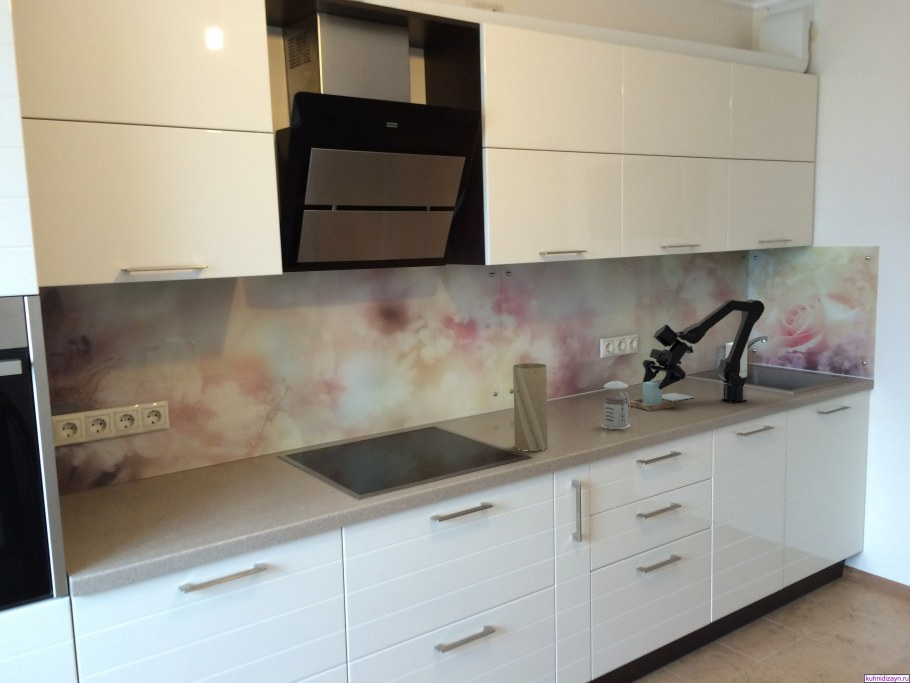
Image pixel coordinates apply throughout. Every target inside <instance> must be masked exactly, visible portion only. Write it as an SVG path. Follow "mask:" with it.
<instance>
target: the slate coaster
mask: <svg viewBox="0 0 910 683" xmlns="http://www.w3.org/2000/svg"><path fill="white" fill-rule="evenodd" d="M690 398H694V399H695V396H691V395H685V394H681V393H677V392H672V393H671V392H669V393H664V394H663V393H662V399H665V400H664V401H666V400H670V401H676V402H679V401H678V400H683V401H685V400H684V399H689V400H691V399H690ZM670 401H669V402H670Z"/></svg>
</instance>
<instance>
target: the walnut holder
mask: <svg viewBox="0 0 910 683" xmlns="http://www.w3.org/2000/svg"><path fill="white" fill-rule="evenodd" d="M629 400H630V405H631V406H635V407H638V408H637V409H639V408H642V409H641V410H643V409H646V410H645V411H647V410H649V411H648V412H652V411H651V410H655V411H659V410H658V409H661V410H665V409H664V408H667V409H672V408H671V407H674V408H676V402H670V401H667V402H662V403H660V404H654V405H648V404H643V397H642V398H637V399H636V398H635V399H628V400H627V402H628V405H629ZM631 406H630V407H631ZM635 407H634V408H635Z"/></svg>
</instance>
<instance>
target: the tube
mask: <svg viewBox="0 0 910 683" xmlns="http://www.w3.org/2000/svg"><path fill="white" fill-rule="evenodd" d="M547 371H548V370H547V365H546V364H544V363H532V362H531V363H525V362H524V363H518V364H517V363H516V364H514V365H513V366H512V374H513V375H512V379H513V382H512V384H513V415H514V416H513V418H514V419H513V420H514V422H513V423H514V449H515V448H517V449H520V450H528V451H538V450H543V449H546V448H547V449H549V440H548V439H549V435H548V434H549V431H548V429H549V427H548V425H549V424H548V383H547V382H548V376H547V374H548V373H547ZM547 449H546V450H547ZM543 451H544V450H543ZM538 452H539V451H538Z"/></svg>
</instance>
